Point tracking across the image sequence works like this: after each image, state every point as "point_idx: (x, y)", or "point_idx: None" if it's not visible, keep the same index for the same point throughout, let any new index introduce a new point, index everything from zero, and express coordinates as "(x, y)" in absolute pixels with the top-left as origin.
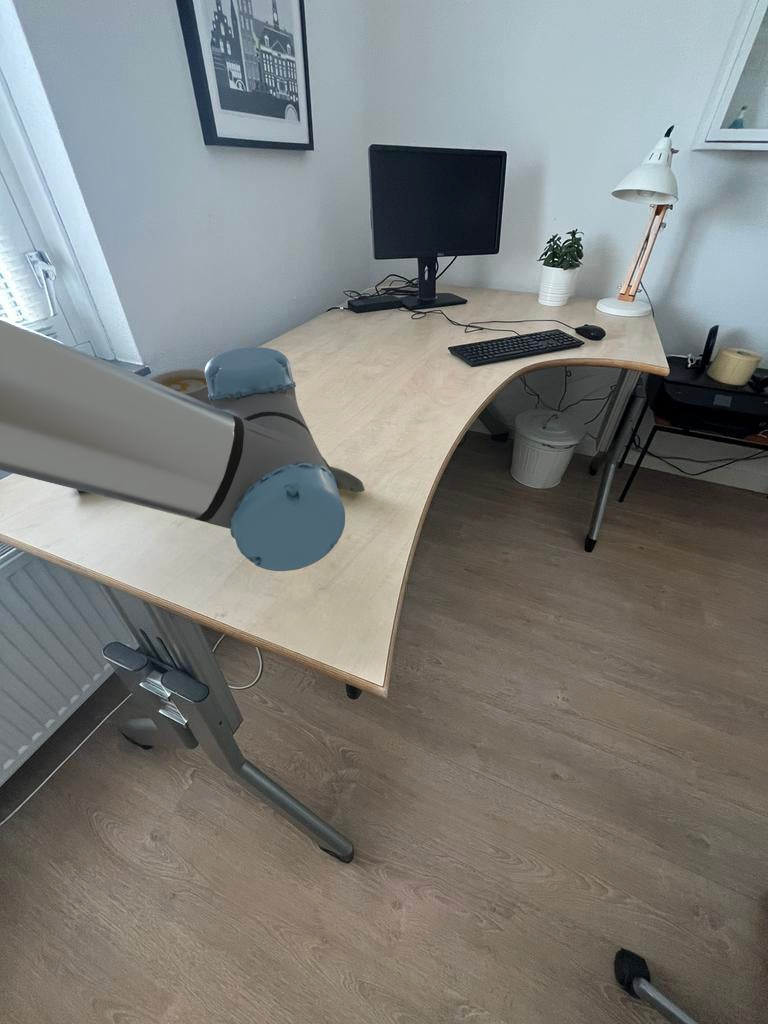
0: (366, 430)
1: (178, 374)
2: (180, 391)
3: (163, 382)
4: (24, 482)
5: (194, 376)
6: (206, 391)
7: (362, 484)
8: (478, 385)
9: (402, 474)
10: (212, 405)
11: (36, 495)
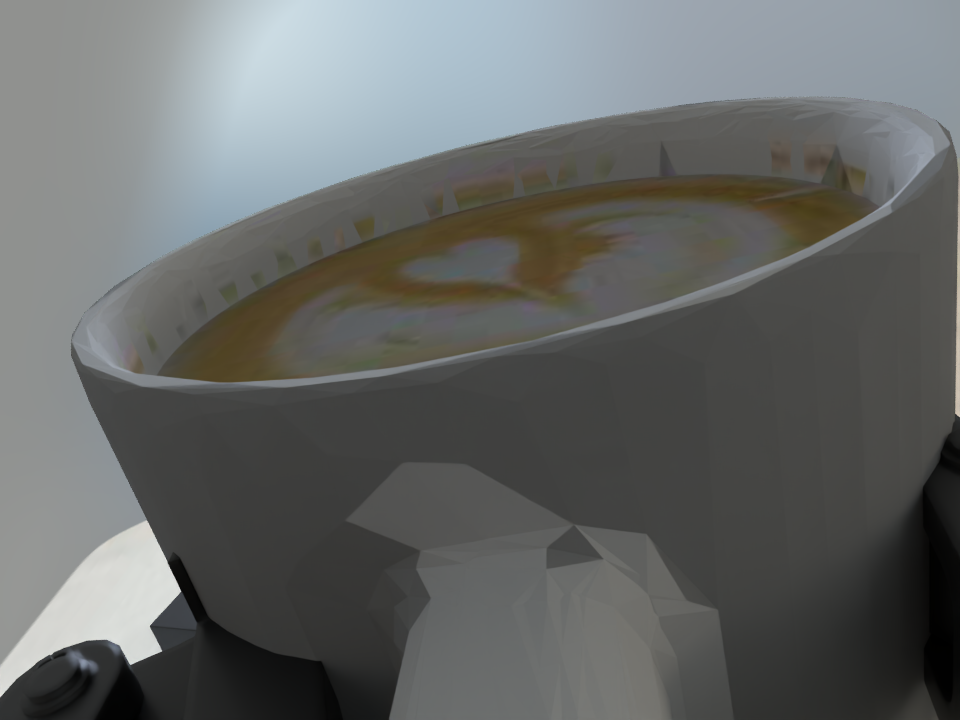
0: None
1: (555, 163)
2: (486, 308)
3: (423, 226)
4: (113, 564)
5: (684, 174)
6: (850, 330)
7: None
8: None
9: None
10: (887, 556)
11: (87, 636)
